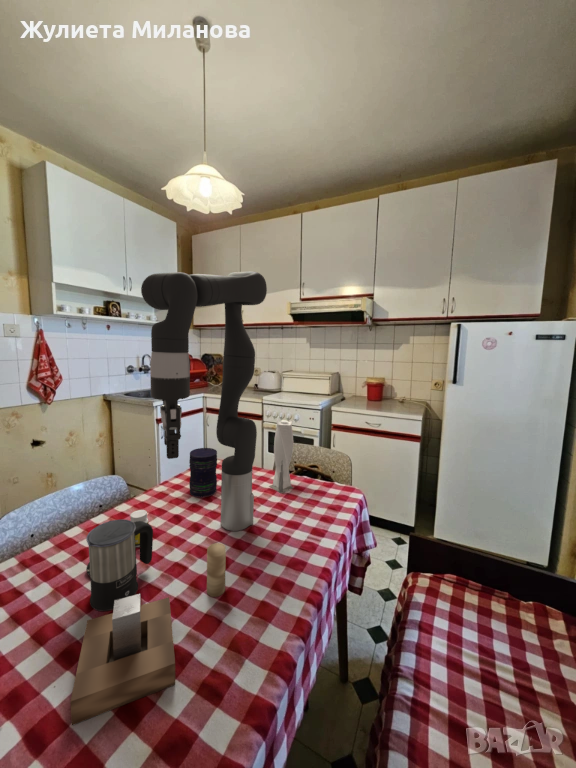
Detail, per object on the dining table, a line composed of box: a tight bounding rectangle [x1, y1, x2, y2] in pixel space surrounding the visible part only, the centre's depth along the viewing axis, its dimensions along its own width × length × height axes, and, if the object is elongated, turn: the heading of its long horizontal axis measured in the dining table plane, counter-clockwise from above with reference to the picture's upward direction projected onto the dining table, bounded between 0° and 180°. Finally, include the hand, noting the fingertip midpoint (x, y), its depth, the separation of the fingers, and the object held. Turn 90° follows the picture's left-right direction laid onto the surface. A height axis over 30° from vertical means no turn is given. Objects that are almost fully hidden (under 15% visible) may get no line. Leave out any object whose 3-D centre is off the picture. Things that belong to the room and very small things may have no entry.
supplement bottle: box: [130, 509, 149, 548], centre depth 84 cm, size 5×5×8 cm
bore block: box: [69, 596, 176, 726], centre depth 53 cm, size 14×14×4 cm
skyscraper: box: [268, 415, 295, 494], centre depth 120 cm, size 8×8×28 cm
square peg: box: [112, 593, 142, 661], centre depth 53 cm, size 4×4×10 cm
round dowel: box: [206, 542, 227, 598], centre depth 69 cm, size 4×4×10 cm
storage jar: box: [188, 447, 218, 498], centre depth 114 cm, size 10×10×15 cm
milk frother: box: [85, 519, 154, 612], centre depth 69 cm, size 14×16×15 cm
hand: (171, 450), depth 65 cm, fingers open, 8 cm apart
